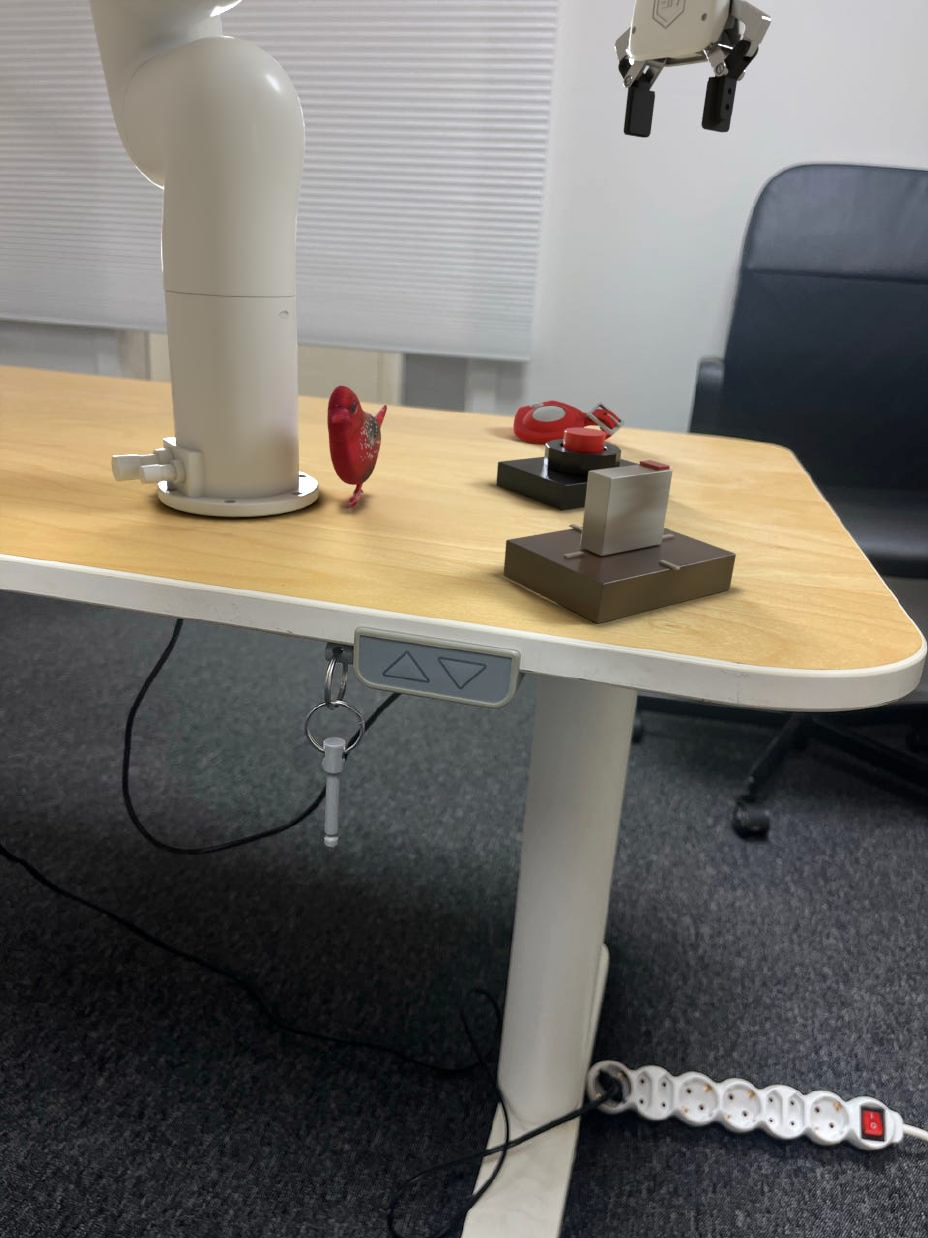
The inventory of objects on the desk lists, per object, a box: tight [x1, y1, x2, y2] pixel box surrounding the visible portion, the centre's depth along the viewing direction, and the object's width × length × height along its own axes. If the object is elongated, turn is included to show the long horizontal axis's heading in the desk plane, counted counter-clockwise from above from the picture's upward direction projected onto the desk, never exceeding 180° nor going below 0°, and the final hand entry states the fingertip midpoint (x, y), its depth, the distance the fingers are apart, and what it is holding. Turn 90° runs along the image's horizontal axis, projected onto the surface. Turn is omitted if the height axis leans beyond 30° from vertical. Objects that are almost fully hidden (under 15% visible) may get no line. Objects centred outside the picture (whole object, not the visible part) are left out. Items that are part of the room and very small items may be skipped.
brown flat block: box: [503, 523, 737, 624], centre depth 58 cm, size 12×10×3 cm
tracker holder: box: [512, 399, 626, 445], centre depth 102 cm, size 12×4×10 cm
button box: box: [495, 439, 639, 512], centre depth 79 cm, size 12×9×4 cm
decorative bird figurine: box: [326, 385, 388, 509], centre depth 72 cm, size 3×18×10 cm, turn 172°
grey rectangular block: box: [580, 459, 674, 556], centre depth 57 cm, size 6×2×5 cm, turn 126°
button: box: [563, 427, 606, 452], centre depth 79 cm, size 4×4×2 cm
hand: (674, 133), depth 84 cm, fingers open, 9 cm apart
